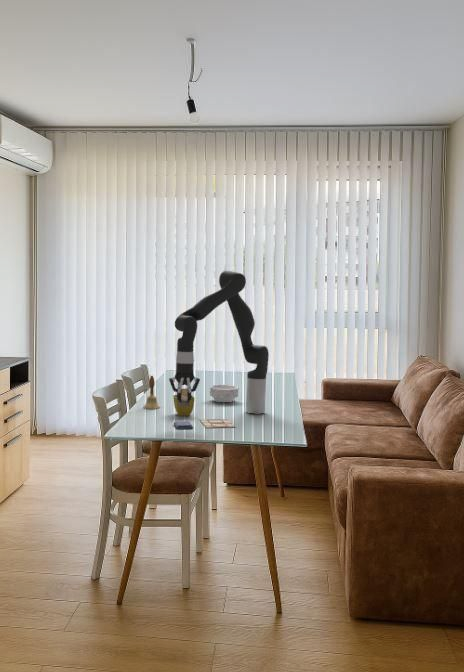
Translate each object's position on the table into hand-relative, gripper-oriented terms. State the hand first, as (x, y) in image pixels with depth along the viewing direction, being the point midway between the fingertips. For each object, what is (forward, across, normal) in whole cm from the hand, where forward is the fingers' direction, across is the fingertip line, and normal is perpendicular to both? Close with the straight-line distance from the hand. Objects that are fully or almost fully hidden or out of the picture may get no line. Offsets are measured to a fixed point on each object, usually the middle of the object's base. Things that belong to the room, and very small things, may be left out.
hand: (183, 400), depth 281 cm
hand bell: (+12, +9, -44) cm, 46 cm away
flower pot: (+12, -4, -25) cm, 28 cm away
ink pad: (+11, 0, 0) cm, 11 cm away
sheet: (+11, -16, -4) cm, 20 cm away
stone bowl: (+11, -31, -58) cm, 67 cm away
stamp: (+2, 0, 0) cm, 2 cm away
